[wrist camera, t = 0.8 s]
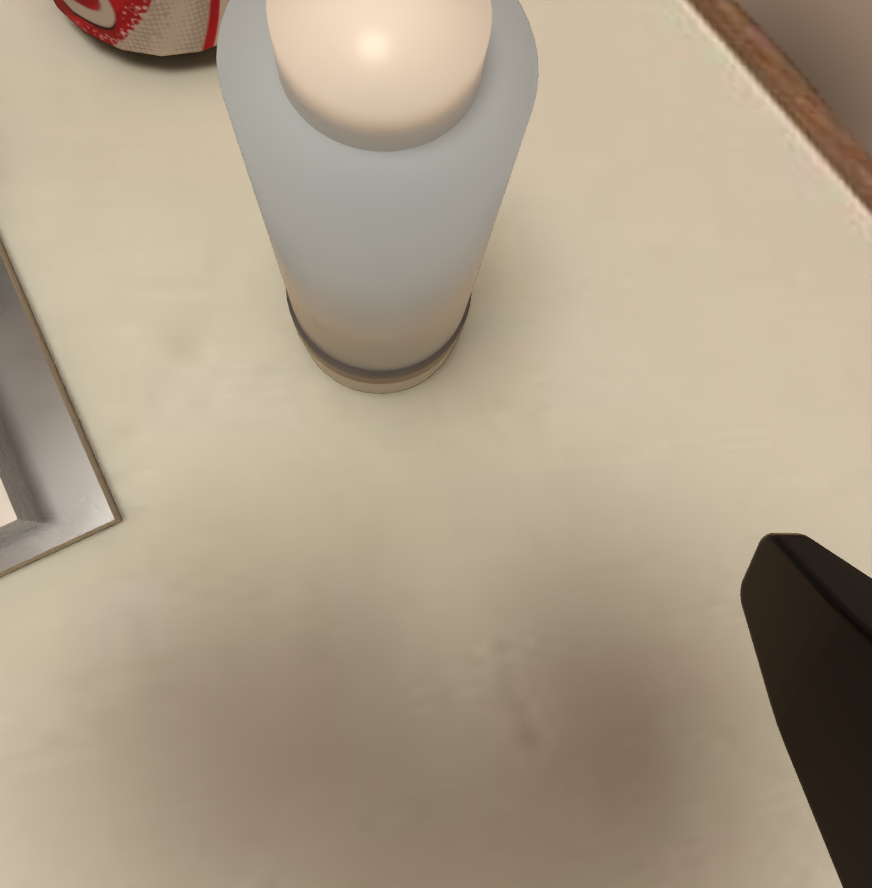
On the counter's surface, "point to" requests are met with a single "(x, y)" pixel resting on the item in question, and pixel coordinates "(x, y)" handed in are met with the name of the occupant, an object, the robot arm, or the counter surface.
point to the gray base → (40, 445)
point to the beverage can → (149, 23)
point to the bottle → (378, 164)
